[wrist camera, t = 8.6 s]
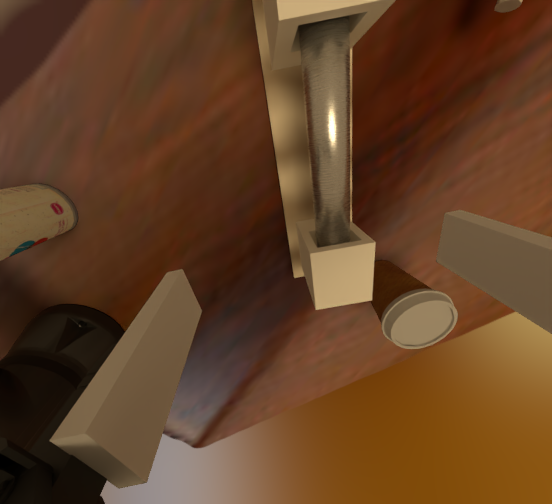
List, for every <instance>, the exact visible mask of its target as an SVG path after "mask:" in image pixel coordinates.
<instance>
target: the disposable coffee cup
mask: <svg viewBox="0 0 552 504" xmlns="http://www.w3.org/2000/svg"><path fill="white" fill-rule="evenodd" d="M371 303H372V305H373V307H374V309H375V311H376V313H377V315H378V318H379V320H380V322H381V325H382V331H383V333H384V335H385V336H386V338H388V339H389V340H390V341H392V342H394V343H395V344H396V345H398V346H400V347H402V348H406V349H418V348H423V347H426V346H429V345H432V344H434V343H436V342H438V341H440V340H441V339H442V338H444V337H445V336H446V335H447V334H448V333H450V331H451V330H452V329H453V328H454V326H455V324H456V322H457V317H458V314H457V310H456V308H455V307H454V306H453V302H452V300H451V299H450V297H449V296H447V295H446V294H444V293H442V292H440V291H436V290H433V289H431V288H430V287H427V285H425V284H424V283H422V282H420V281H419V280H417V279H416V278H414V277H413V276H411V275H410V274H408V273H406V272H405V271H403V270H402V269H400V268H399V267H397V266H395V265H394V264H392V263H391V262H389V261H385V260H380V261H376V262H374V276H373V293H372V300H371Z"/></svg>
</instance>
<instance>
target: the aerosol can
mask: <svg viewBox="0 0 552 504" xmlns="http://www.w3.org/2000/svg"><path fill="white" fill-rule="evenodd" d="M77 221H78V213H77V210H76V208H75V206H74V204H73V202H72V201H71V200H70V199H69V198H68V196H66V195H65V194H64V193H62V192H61V191H60V190H58V189H56V188H54V187H52V186H49V185H45V184H30V185H24V186H18V187H12V188H6V189H0V261H1V260H3V259H6V258H8V257H10V256H12V255H15V254H17V253H19V252H21V251H24V250H26V249H28V248H30V247H33V246H35V245H37V244H39V243H42V242H44V241H46V240H49V239H51V238H53V237H55V236H58V235H60V234H62V233H64V232H67V231H69V230H71V229H73V228H74V227H75V226H76V224H77Z"/></svg>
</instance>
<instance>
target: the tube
mask: <svg viewBox="0 0 552 504" xmlns="http://www.w3.org/2000/svg"><path fill="white" fill-rule="evenodd" d="M298 31H299V42H300V54H301V66H302V78H303V90H304V101H305V113H306V125H307V137H308V149H309V161H310V172H311V184H312V196H313V208H314V220H315V231H316V243H317V246H318V247H319V248H320V247H325V246H331V245H337V244H342V243H348V242H350V15H348V16H343V17H337V18H332V19H327V20H322V21H317V22H312V23H307V24H302V25H298Z"/></svg>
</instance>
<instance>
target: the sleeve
mask: <svg viewBox="0 0 552 504" xmlns="http://www.w3.org/2000/svg"><path fill="white" fill-rule="evenodd" d="M296 227H297V235H298V243H299V250H300V258H301V266H302V269H303V272H304V275H305V278H306V281H307V285H308V288H309V291H310V294H311V297H312V300H313V303H314V306H315V309H316V310H318V309H324V308H330V307H336V306H342V305H348V304H354V303H359V302H365V301H371V300H372V293H373V276H374V259H375V241H373V240H372V239H371V238H370V237H369V236H368V235H366V234H365V233H364V232H363V231H362V230H361V229H359V228H358V227H357V226H356V225H355V224H354V223H352V222H351V221H350V242H348V243H342V244H337V245H331V246H325V247H320V248H319V247H318V246H317V243H316V231H315V220H314V219H309V220H303V221H298V222H296Z"/></svg>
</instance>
